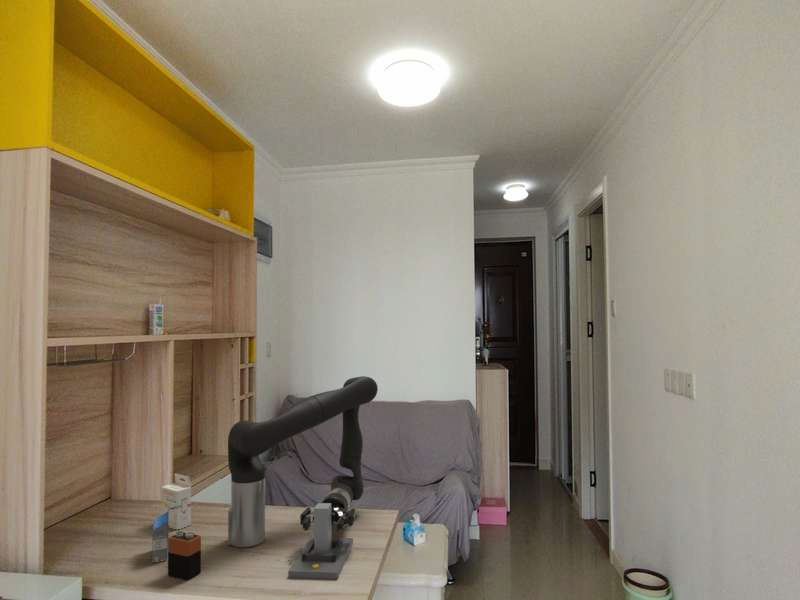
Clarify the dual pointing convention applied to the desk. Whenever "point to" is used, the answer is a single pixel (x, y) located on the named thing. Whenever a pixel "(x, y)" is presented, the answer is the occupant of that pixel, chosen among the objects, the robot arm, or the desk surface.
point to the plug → (322, 528)
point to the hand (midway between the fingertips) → (321, 527)
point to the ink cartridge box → (177, 502)
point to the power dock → (321, 560)
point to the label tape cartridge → (160, 537)
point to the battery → (184, 555)
